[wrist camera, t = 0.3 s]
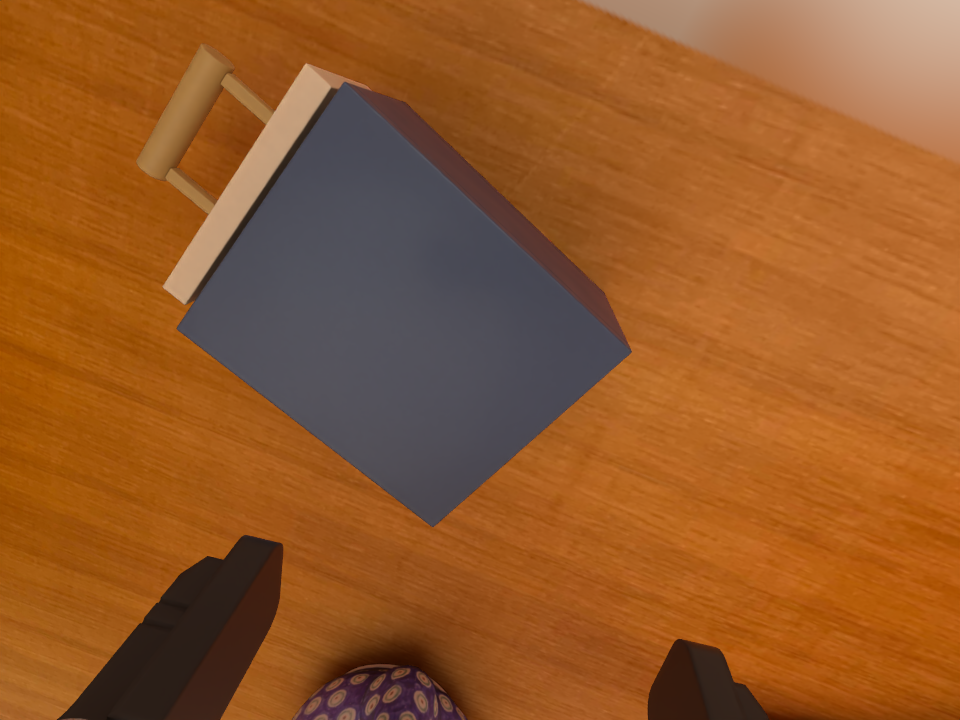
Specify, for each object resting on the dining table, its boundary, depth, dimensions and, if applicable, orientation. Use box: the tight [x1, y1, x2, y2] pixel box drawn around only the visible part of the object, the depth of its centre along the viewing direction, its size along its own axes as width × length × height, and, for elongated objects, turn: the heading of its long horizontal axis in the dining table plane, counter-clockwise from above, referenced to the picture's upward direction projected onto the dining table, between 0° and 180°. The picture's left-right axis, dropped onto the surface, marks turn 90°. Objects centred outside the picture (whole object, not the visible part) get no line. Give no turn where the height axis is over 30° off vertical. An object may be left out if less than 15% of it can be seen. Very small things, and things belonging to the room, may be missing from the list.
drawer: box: [137, 43, 372, 305], centre depth 25 cm, size 18×11×7 cm, turn 48°
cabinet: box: [177, 82, 632, 527], centre depth 26 cm, size 15×13×9 cm
